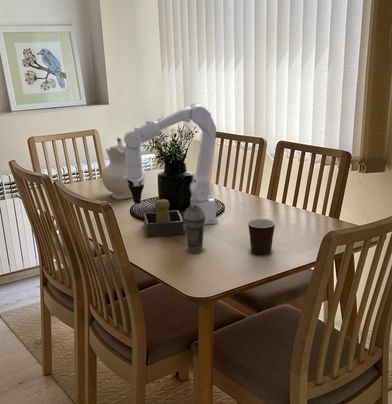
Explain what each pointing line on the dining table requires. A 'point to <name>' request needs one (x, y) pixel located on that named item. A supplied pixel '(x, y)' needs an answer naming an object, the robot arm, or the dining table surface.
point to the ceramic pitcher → (117, 172)
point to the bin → (163, 225)
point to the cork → (162, 211)
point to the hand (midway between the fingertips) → (136, 200)
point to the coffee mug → (261, 236)
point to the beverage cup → (194, 227)
